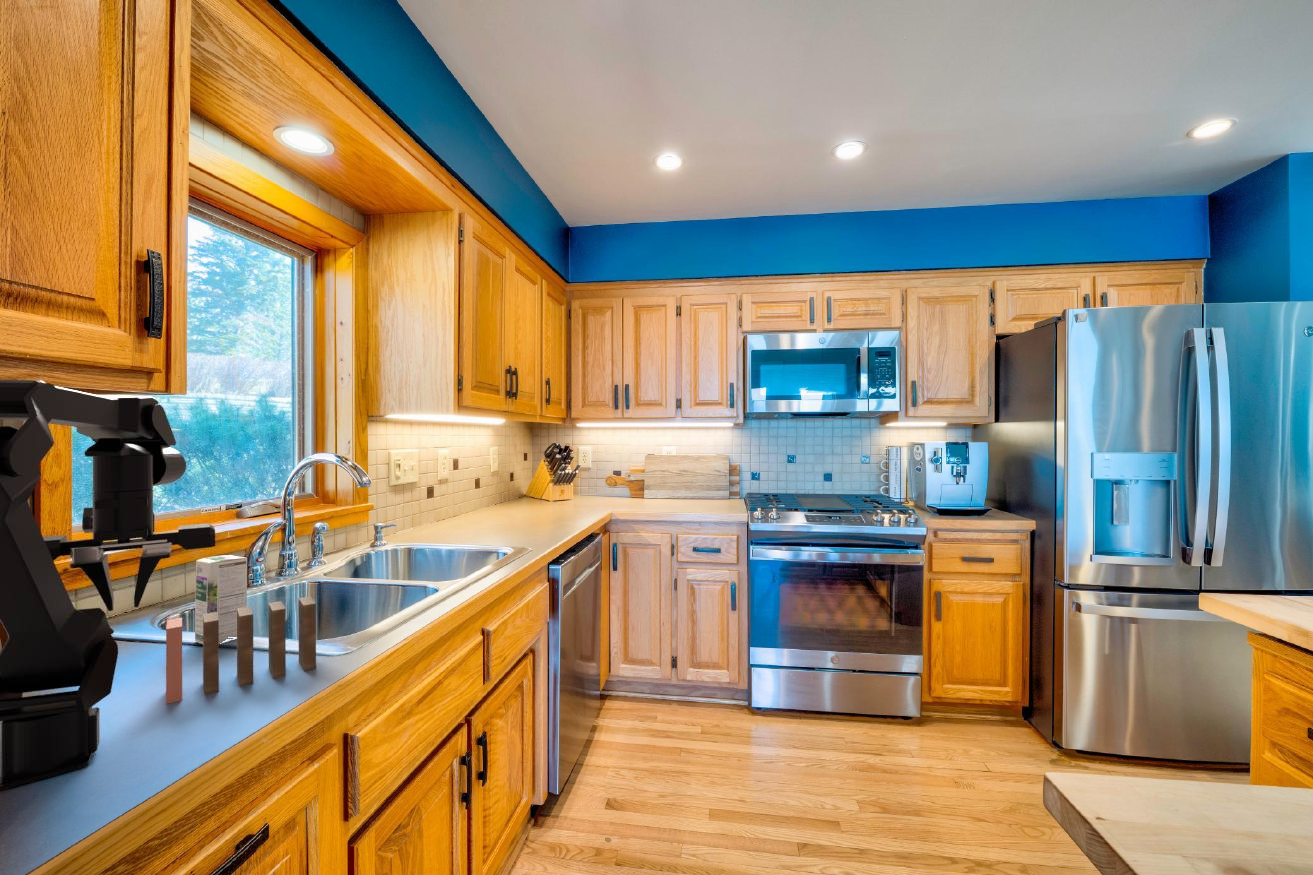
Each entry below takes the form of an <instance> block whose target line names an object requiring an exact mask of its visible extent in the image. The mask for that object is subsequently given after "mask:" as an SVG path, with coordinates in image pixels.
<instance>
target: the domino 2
mask: <svg viewBox="0 0 1313 875" xmlns="http://www.w3.org/2000/svg"><path fill="white" fill-rule="evenodd" d="M219 649H220V645H219V619H218V614H217V612H212V613H206V614H203V644H202V680H203V681H202V686H203V688H202V689H203V695H204V696H205V695H209V694H215V693H218V692H220V669H219V668H220V666H219V664H220V663H219V662H220V661H219V660H220V659H219V658H220V654H219V653H220V650H219Z"/></svg>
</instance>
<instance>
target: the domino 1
mask: <svg viewBox="0 0 1313 875" xmlns="http://www.w3.org/2000/svg"><path fill="white" fill-rule="evenodd" d="M165 631H166V633H165V640H166V641H165V646H166V648H165V660H166V661H165V664H166V665H165V675H166V676H165V692H166V693H165V705H168V704H172V703H177V702H180V701H183V617H177V618H171V619H167V620H166V628H165Z"/></svg>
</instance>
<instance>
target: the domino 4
mask: <svg viewBox="0 0 1313 875" xmlns="http://www.w3.org/2000/svg"><path fill="white" fill-rule="evenodd" d="M286 623H287V622H286V607H285V605H284V604H283V602H282V601H281V600H279V601H275V602H274V601H273V602H269V603H268V671H269V672H270V675H271V678H272V679H277V678H282V677H285V676H287V673H286V672H287V671H286V670H287V669H286V668H287V667H286V666H287V665H286V663H287V662H286V660H287V659H286V658H287V657H286V656H287V655H286V654H287V653H286V652H287V651H286V649H287V648H286V642H287V641H286V638H287V637H286V633H287V632H286V631H287V630H286V628H287V627H286Z"/></svg>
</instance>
